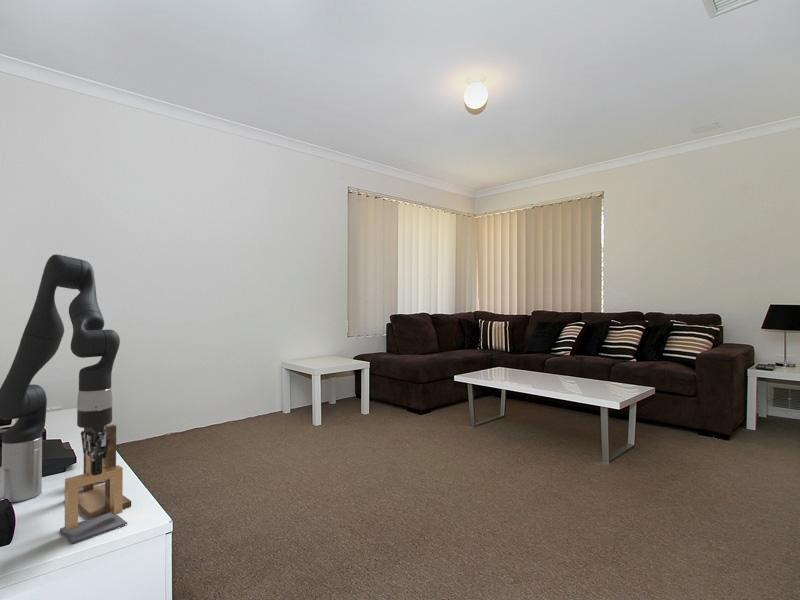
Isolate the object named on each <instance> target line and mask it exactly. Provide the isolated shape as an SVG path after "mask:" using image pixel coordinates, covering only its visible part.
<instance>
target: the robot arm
mask: <svg viewBox="0 0 800 600" xmlns="http://www.w3.org/2000/svg"><path fill="white" fill-rule="evenodd" d="M42 272H43V273H42V276H41V279H40V283H39V288H38V290H37V295H36V298H35V301H34V304H33V307H32V310H31V312H30V316H29V317H28V320H27V323H26V325H25V328H24V331H23V333H22V336H21V339H20V342H19V345H18V348H17V351H16V354H15V356H14V358H13V361H12V364H11V366H10V368H9V370H8V372H7V374H6V377H5V379H4V381H3V383H2V384H1V386H0V419H1V420H4V421H10V420H15V419H17V420H16V421H15V423H14V424H12V426H10V427H9V428H8V429H6V430H5V431H3V433H2V436H1V437H2V438H1V446H2V447H1V466H0V500H1V499H9V500H10V501H11V503H17V502H22V501H23V502H24V501H27V500H31V499H33V498H36V497H38V496H39V495H40V494H42V487H43V483H42V481H43V480H42V479H43V474H42V473H43V472H42V471H43V470H42V469H43V467H42V465H43V457H42V456H43V431H44V428H45V427H46V419H47V406H48V405H47V404H48V402H47V401H48V399H47V398H48V397H47V394H46V391H45V390H44V387H42V386H41V385H39V384H31V383H32V382H33V381H32V380H33V379H34V377H35V376H36V375H37V374H38V372H39V371H40V370H42V368H44V367H45V365H46V364H47V363H49V361H51V359H52V358H53V357H54V356H55V355H56V353H57V352H58V350H59V348H60V345H61V344H62V343H61V341H62V340H63V337H64V333H65V326H64V323H63V320H62V317H61V315H60V313H59V311H58V308H57V305H56V301H55V300H56V299H55V296H56V290H57V288H58V287H59V288H64V289H70V290H78V291H79V293H78V294H77V295H76V296H75V297H74V298H73V299H72V300H71V302H70V304H69V306H68V316H69V318H70V322H71V325H72V336H71V340H70V351H71V353H72V354H73V355H74V356H76V357H77V358H81V359H85V358H86V359H87V358H98V357H100V359H99V361H98V362H96V363H95V364H92V365H89V366H85V367H82V368H80V370H79V373H78V394H77V403H76V404H77V408H76V409H77V411H76V413H77V414H76V418H77V419H76V420H77V421H76V425H77V427H78V428H81V429H84V428H85V431H84V430H81V432H80V437H81V444H82V452H83V455H84V454H85V453H86V454H89V453H91V460H92V473H91V474H92V475H93V476H95V475H99V474H101V473H102V459H104V458H106V456H107V451H108V446H109V441H110V440H109V438H106V431H105V430H104V426H105V425H111V423H112V422H113V391H112V390H113V389H112V375H113V374H112V371H113V368H114V364H115V361H116V360H115V359H116V357H117V354H118V351H119V347H120V344H121V340H120V336H119V334H118V333H117V332H116V331H115V330H113V329H104V326H105V319H104V317H103V313H102V312H101V308H100V306H99V303H98V299H97V288H96V286H97V285H96V278H95V271H94V268H93V266H92V264H91V263H90V262H89V261H86V260H84V259H80V258H76V257H72V256H67V255H62V254H52V255H51V256H50V257H49V258H48V259H47V260H46V264H45V265H44V269H43V271H42ZM99 453H100V455H98V454H99ZM85 456H86V455H85Z"/></svg>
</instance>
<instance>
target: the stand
mask: <svg viewBox="0 0 800 600" xmlns="http://www.w3.org/2000/svg"><path fill="white" fill-rule="evenodd" d="M104 430H105V431H106V438H109V440H110V441H109V446H108V451H107V456H106V458H105V468H109V467H113V466H117V425H116V424H113V423H112V424H108V425H105V426H104ZM83 431H85V428H83ZM85 455H86V453H85V454H84V453H83V473H82V474H86V456H85ZM82 487H83V488H82V490H78V511H80V512H81V513H83V514H84V515H85V516H86V517H87V518H88V519H91V518H94V517H97V516H101V515H104V514H107V513H110V479H107V480H105V482H104V483H103V484H100V485H94V483H92V484H88V485H85V486H82ZM130 507H132V500H130V499H129V498H128V497H126V496H125V495H123V494H122V510H124V509H126V508H130Z"/></svg>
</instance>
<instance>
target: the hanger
mask: <svg viewBox="0 0 800 600" xmlns="http://www.w3.org/2000/svg"><path fill="white" fill-rule="evenodd" d="M98 455H100V453H99V454H98ZM123 469H124V468H123V466H121V465H119V464H118V465H117V464H116V466H113V467H109V468H105V469H103V459H102V473H101V474H99V475H95V476H93V475H92V474H91V473H92V460H91V453H89V454H86V474H83V473H82V474H79V475H74V476H70V477H67V478H65V479H64V527H65V528H66V529H67V530H71V529H74V528H77V527H78V523H79V509H78V491H79V488H81V487H83V486H85V485H88V484H92V483H93V484H96V482H99V481H103V480H107V479H110V513H112V514H113V515H116V514H117V515H119V514H122V513H123V509H122V495H123V491H124V490H123V486H124V485H123V478H124V477H123V476H124V475H123V473H124V472H123V471H124V470H123ZM99 483H100V482H99Z"/></svg>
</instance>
